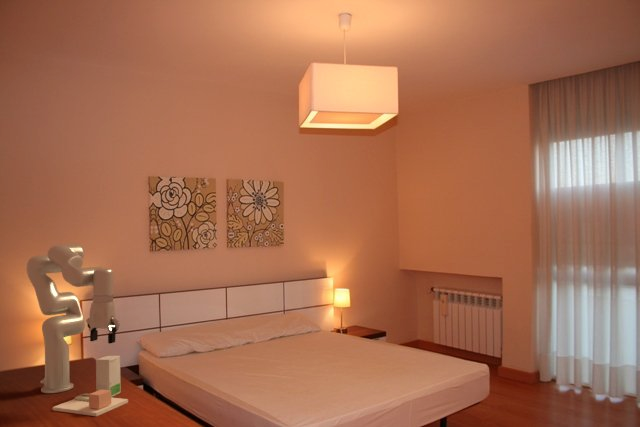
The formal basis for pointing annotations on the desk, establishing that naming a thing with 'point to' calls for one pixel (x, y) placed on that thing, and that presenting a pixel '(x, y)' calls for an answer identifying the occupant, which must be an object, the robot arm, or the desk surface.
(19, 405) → the desk surface
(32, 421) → the desk surface
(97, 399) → the stub
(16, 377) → the desk surface
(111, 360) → the skincare box
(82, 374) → the desk surface
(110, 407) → the ticket board
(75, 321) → the robot arm
